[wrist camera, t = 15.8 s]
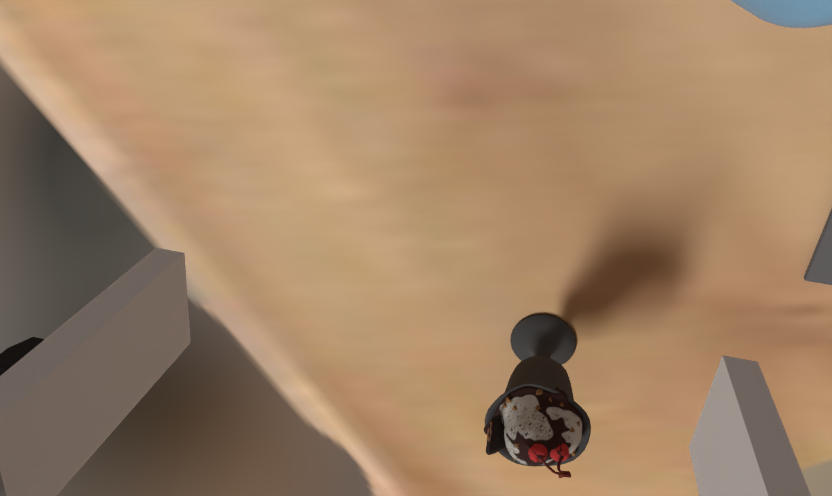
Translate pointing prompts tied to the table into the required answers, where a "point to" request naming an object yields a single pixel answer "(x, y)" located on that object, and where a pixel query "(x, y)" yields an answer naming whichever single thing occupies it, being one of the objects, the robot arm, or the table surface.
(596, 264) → the table surface
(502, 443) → the sundae
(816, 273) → the mat
